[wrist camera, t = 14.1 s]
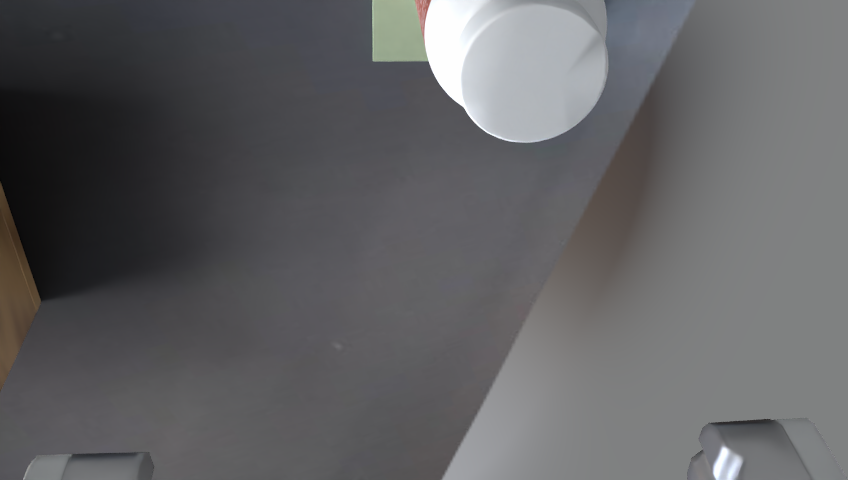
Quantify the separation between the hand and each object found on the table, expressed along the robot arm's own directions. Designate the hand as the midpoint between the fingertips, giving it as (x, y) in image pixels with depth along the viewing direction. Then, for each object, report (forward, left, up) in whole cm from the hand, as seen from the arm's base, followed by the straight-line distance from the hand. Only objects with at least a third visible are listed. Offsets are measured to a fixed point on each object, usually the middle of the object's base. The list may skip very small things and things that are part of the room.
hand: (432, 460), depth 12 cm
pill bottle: (+1, +4, -26) cm, 26 cm away
